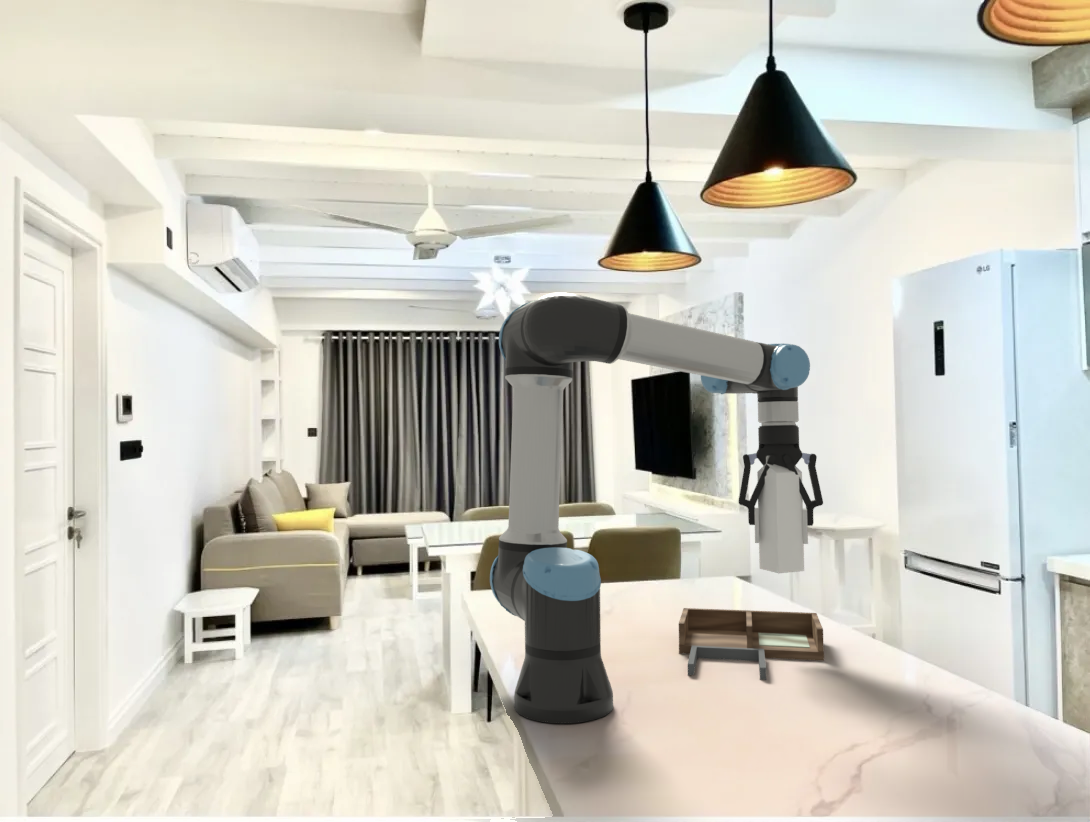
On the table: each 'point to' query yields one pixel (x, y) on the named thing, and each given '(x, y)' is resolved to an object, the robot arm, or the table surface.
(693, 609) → the box
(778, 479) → the milk
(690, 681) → the table surface
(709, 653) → the bracket
